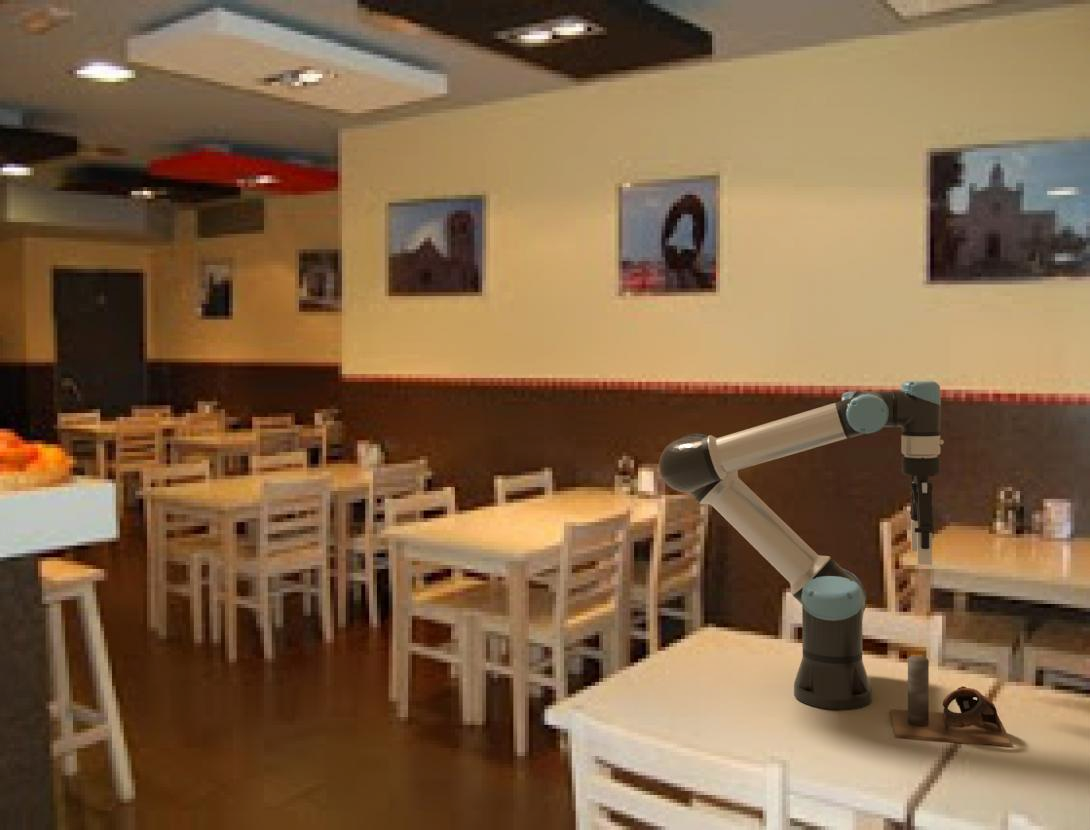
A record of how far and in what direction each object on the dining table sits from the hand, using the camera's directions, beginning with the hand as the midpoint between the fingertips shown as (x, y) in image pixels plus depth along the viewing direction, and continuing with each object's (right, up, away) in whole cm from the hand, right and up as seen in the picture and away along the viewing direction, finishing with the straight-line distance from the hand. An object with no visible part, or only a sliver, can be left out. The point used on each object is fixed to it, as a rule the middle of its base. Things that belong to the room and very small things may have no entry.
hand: (921, 557), depth 201 cm
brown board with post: (-4, -28, -23) cm, 37 cm away
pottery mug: (0, -28, -24) cm, 37 cm away
